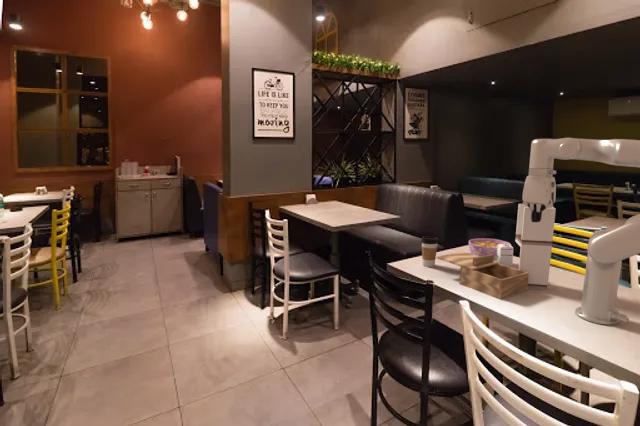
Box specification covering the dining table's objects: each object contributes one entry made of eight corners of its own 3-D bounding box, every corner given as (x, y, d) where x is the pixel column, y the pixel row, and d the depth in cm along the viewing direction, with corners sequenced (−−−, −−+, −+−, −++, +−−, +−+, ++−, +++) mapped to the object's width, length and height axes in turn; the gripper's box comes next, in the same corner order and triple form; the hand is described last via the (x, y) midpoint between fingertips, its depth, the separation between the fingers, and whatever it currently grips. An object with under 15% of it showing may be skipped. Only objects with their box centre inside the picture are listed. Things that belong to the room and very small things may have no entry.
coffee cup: (416, 264, 192) (417, 236, 190) (429, 262, 196) (430, 234, 193) (427, 268, 185) (428, 239, 182) (440, 266, 188) (442, 237, 186)
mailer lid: (498, 263, 166) (499, 254, 165) (472, 270, 157) (472, 260, 157) (462, 252, 183) (462, 244, 183) (436, 258, 174) (436, 249, 174)
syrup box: (511, 277, 171) (514, 247, 169) (498, 276, 173) (500, 246, 170) (508, 273, 177) (510, 244, 174) (495, 272, 178) (497, 243, 176)
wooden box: (527, 290, 156) (528, 272, 154) (500, 299, 147) (502, 280, 146) (485, 276, 173) (486, 260, 171) (459, 283, 164) (460, 266, 163)
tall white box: (539, 281, 167) (547, 204, 161) (547, 289, 157) (555, 208, 150) (512, 278, 170) (518, 203, 164) (517, 287, 160) (524, 207, 154)
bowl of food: (468, 268, 184) (470, 246, 182) (465, 257, 203) (466, 237, 201) (513, 272, 178) (515, 249, 176) (505, 260, 197) (507, 239, 195)
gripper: (567, 173, 131) (562, 224, 134) (526, 171, 144) (522, 217, 147) (556, 174, 127) (550, 226, 131) (514, 172, 140) (511, 219, 143)
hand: (535, 221), depth 139 cm, fingers closed
